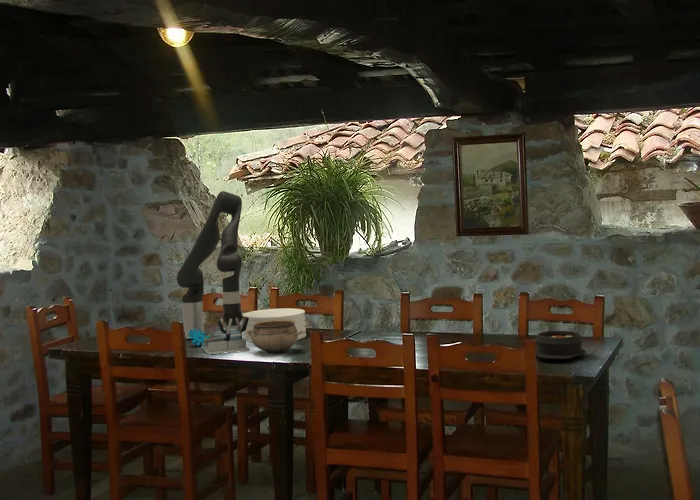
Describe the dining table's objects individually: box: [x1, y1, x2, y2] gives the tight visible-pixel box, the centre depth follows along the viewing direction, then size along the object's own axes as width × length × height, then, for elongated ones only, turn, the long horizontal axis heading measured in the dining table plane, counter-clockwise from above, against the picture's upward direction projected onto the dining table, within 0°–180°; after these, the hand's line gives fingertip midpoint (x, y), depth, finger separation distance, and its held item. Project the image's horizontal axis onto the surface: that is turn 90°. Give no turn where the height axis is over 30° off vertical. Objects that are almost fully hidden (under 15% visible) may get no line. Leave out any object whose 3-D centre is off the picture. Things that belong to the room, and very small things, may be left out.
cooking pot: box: [246, 319, 303, 355], centre depth 315 cm, size 25×19×12 cm
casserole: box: [534, 330, 587, 361], centre depth 280 cm, size 25×19×8 cm
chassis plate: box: [200, 336, 250, 355], centre depth 325 cm, size 16×17×5 cm
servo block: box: [229, 329, 241, 340], centre depth 327 cm, size 11×4×5 cm, turn 22°
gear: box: [188, 328, 211, 347], centre depth 340 cm, size 11×6×10 cm
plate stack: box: [242, 307, 307, 343], centre depth 352 cm, size 28×28×12 cm
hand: (234, 341), depth 327 cm, fingers closed on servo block, 4 cm apart
